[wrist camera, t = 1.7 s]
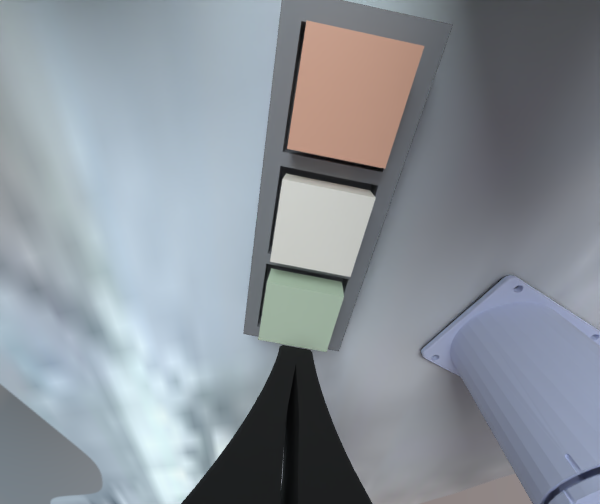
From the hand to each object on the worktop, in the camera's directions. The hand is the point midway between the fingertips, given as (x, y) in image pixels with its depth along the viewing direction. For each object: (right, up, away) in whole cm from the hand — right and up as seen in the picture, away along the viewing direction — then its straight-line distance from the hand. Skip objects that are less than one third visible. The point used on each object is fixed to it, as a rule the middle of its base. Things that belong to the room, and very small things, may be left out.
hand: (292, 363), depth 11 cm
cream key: (+1, +6, +2) cm, 7 cm away
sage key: (0, +2, +4) cm, 4 cm away
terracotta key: (+2, +11, -1) cm, 11 cm away
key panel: (+1, +7, +3) cm, 8 cm away
